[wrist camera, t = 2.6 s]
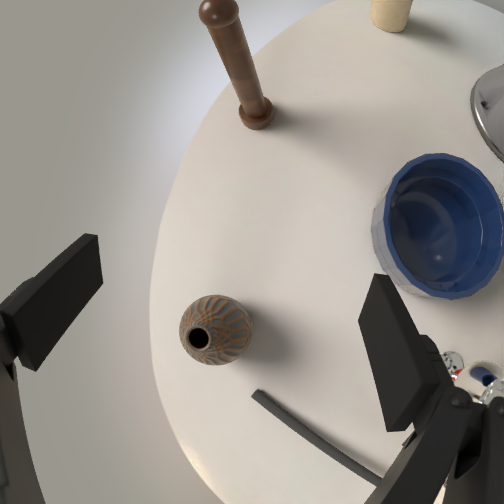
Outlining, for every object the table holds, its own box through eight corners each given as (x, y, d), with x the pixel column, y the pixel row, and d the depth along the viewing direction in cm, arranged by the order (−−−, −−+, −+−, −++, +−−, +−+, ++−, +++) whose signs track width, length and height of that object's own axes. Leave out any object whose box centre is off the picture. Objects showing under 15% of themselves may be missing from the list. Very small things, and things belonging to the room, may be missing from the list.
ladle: (414, 522, 26) (417, 539, 22) (245, 405, 36) (232, 415, 32) (457, 484, 26) (465, 500, 22) (285, 359, 36) (276, 366, 32)
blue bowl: (421, 152, 32) (440, 127, 26) (495, 237, 29) (524, 228, 23) (344, 230, 33) (352, 218, 26) (425, 322, 30) (449, 330, 24)
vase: (199, 289, 35) (164, 291, 26) (260, 298, 34) (243, 303, 25) (193, 350, 35) (158, 368, 26) (253, 360, 33) (234, 385, 25)
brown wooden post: (258, 96, 36) (217, -21, 17) (281, 114, 35) (252, -7, 17) (234, 116, 36) (176, 5, 18) (256, 135, 36) (208, 21, 17)
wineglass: (415, 380, 30) (457, 420, 18) (443, 336, 30) (498, 357, 18) (448, 401, 29) (494, 442, 17) (475, 359, 28) (532, 385, 17)
